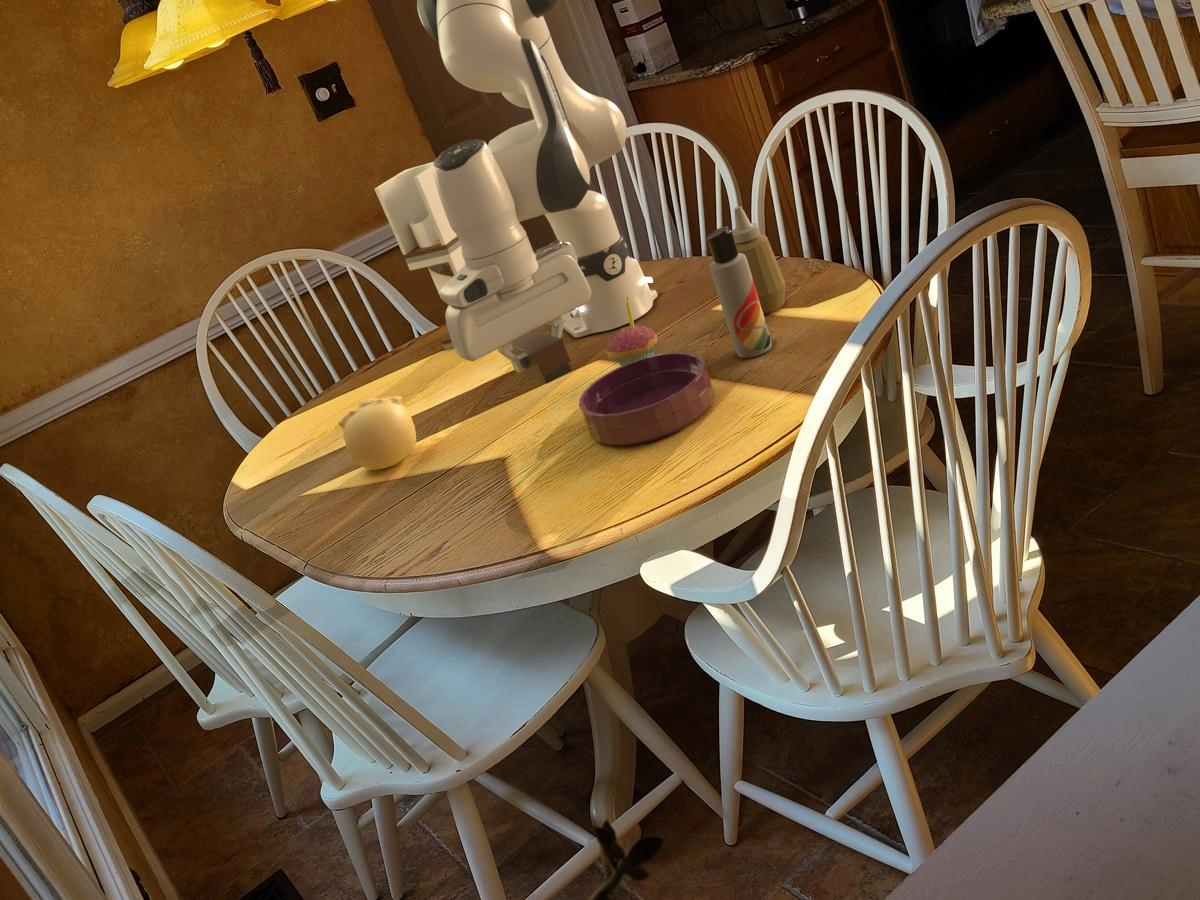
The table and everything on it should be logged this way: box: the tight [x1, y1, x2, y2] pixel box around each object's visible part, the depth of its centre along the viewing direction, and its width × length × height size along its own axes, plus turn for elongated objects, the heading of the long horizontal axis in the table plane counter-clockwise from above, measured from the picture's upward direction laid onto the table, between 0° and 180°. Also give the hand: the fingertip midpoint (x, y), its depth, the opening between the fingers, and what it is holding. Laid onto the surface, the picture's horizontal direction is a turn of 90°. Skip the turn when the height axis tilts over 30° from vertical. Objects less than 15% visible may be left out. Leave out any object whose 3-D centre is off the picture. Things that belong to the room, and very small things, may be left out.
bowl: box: [578, 351, 715, 447], centre depth 163 cm, size 19×19×6 cm
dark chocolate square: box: [509, 330, 572, 384], centre depth 151 cm, size 9×4×5 cm, turn 29°
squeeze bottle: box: [731, 205, 786, 315], centre depth 183 cm, size 8×8×18 cm
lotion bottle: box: [706, 225, 772, 359], centre depth 169 cm, size 6×6×20 cm
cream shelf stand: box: [374, 161, 466, 351], centre depth 224 cm, size 11×11×35 cm
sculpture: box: [337, 395, 417, 471], centre depth 182 cm, size 11×12×11 cm
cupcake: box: [605, 296, 659, 367], centre depth 180 cm, size 9×8×12 cm
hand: (540, 360), depth 151 cm, fingers closed on dark chocolate square, 4 cm apart
